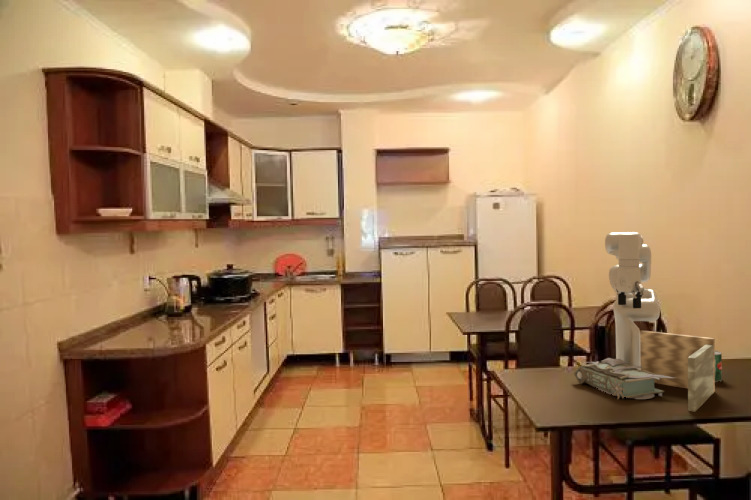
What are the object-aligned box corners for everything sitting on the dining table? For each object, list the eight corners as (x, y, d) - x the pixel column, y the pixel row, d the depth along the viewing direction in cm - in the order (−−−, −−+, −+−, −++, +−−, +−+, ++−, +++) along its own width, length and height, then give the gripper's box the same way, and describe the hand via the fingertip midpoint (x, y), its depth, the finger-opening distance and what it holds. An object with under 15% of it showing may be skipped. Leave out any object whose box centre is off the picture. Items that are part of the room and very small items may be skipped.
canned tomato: (726, 381, 204) (726, 354, 203) (706, 382, 204) (706, 354, 203) (713, 376, 211) (713, 349, 211) (694, 376, 212) (694, 349, 211)
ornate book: (570, 385, 209) (628, 405, 180) (569, 361, 209) (627, 378, 180) (615, 378, 216) (678, 397, 187) (614, 355, 216) (677, 370, 187)
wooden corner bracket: (616, 396, 190) (616, 342, 189) (642, 379, 210) (641, 330, 209) (695, 411, 172) (694, 352, 171) (714, 391, 192) (714, 338, 191)
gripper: (607, 263, 215) (608, 304, 216) (633, 265, 198) (634, 310, 198) (624, 262, 216) (625, 303, 217) (651, 264, 199) (652, 309, 199)
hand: (629, 306), depth 207 cm, fingers open, 9 cm apart
